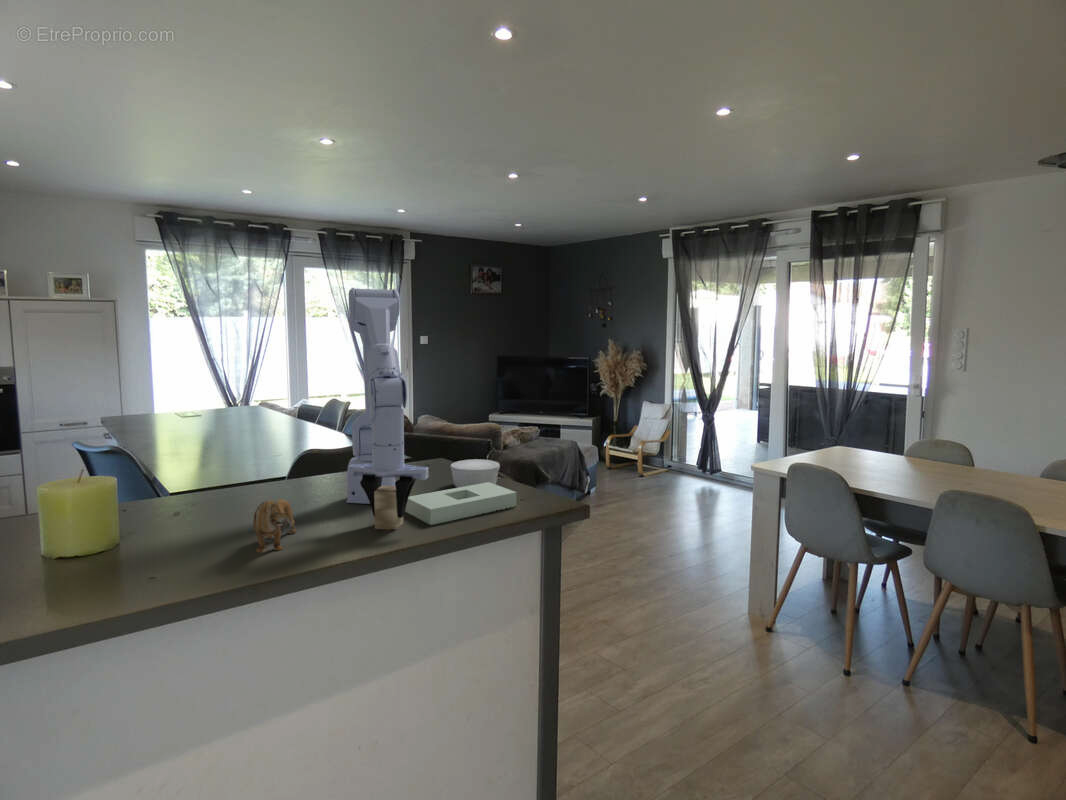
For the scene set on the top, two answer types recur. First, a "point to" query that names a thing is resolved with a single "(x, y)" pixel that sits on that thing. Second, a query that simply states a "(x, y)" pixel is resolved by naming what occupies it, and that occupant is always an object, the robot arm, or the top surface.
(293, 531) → the orange animal figure
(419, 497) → the socket block
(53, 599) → the top surface
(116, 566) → the top surface
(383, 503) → the peg
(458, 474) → the ramekin
